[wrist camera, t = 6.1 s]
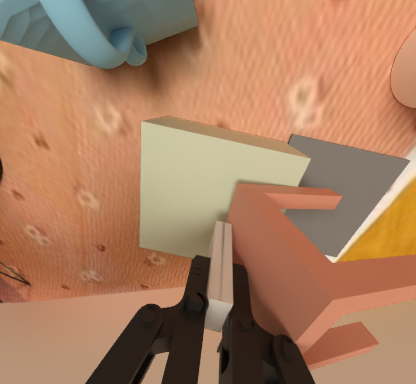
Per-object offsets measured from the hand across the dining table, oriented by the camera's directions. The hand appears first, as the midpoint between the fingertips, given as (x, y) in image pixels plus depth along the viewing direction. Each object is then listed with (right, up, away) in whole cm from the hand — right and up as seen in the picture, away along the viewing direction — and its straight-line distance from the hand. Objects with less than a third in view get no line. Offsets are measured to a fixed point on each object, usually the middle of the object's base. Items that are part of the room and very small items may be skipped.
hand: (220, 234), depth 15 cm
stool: (+5, 0, +2) cm, 5 cm away
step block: (0, +5, +9) cm, 10 cm away
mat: (+14, +2, +9) cm, 17 cm away
